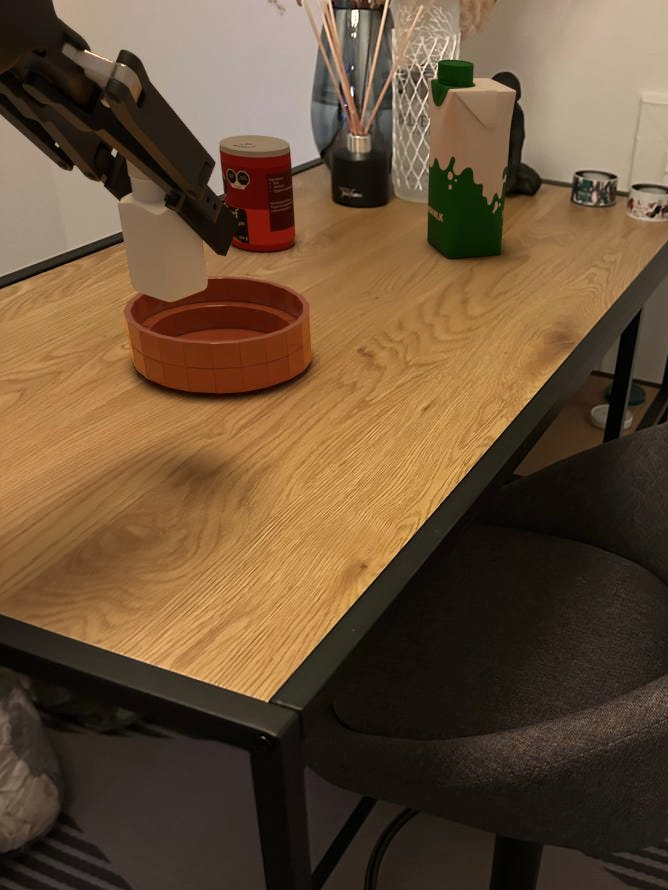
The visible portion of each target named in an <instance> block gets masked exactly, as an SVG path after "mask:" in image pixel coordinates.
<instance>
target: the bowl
mask: <svg viewBox="0 0 668 890" xmlns="http://www.w3.org/2000/svg"><path fill="white" fill-rule="evenodd" d="M207 280H208V284H207V288H206V289H205V290H203V291H201V292H198V293H195V294H193V295H190V296H187V297H185V298H182V299H180V300H177V301H174V302H167V301H163V300H161V299H158V298H155V297H152V296H149V295H146V294H143V293H140V292H137V293H136V294H135V295H134V296H133V297H131V298H130V299H128V301H127V302H126V304H125V307H124V308H123V311H122V313H123V317H124V323H125V328H126V329H125V330H126V334H127V338H128V339H127V340H128V344H129V350H130V355H131V360H132V363H133V366H134V369H135V370H136V371H137V372H138V373H139V374H141V375H142V376H143V377H144V378H146V380H149V381H151V382H154V383H155V384H158V385H161V386H163V387H165V388H169V389H174V390H179V391H184V392H188V393H189V392H191V393H204V394H205V393H206V394H231V393H245V392H251V391H256V390H261V389H266V388H269V387H273V386H276V385H279V384H281V383H284V382H287V381H290V380H292V379H293V378H295V377H296V376H298V375H300V374H301V373H302V372H304V371H306V369H307V367H308V366H309V365H310V364H311V362H312V360H313V345H312V344H313V342H312V327H311V325H312V323H311V307H310V303H309V301H308V300H307V299H306V298H305V296H304V295H302V293H299V292H298V291H296V290H294V289H293V288H292V287H290V286H286V285H283V284H280V283H277V282H275V281H271V280H265V279H259V278H254V277H248V276H232V275H215V276H211V275H209V276H207Z"/></svg>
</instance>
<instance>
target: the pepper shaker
mask: <svg viewBox="0 0 668 890" xmlns="http://www.w3.org/2000/svg"><path fill="white" fill-rule="evenodd" d="M126 162H127V165H128V166H127V168H128V175H129V177H130V179H131V185H132V191H133V192H132V193H130V194H128V195H126V196H124V197H123V198H122V199H121V200H120V201H119V200H118V202H117V209H118V214H119V220H120V226H121V233H122V238H123V244H124V249H125V255H126V261H127V266H128V274H129V280H130V285H131V286H132V288H133V290H134V291H135V292H136V293H139V292H140V293H143V294H146V295H149V296H152V297H155V298H158V299H161V300H163V301H167V302H174V301H177V300H180V299H182V298H185V297H187V296H190V295H193V294H195V293H198V292H201V291H203V290H205V289H206V288H207V284H208V280H207V277H208V273H207V272H208V271H207V263H206V256H205V255H206V254H205V247H204V241H203V240H202V239H201V238H200V236H199V235H198V234H197V233H196V232H195V231H194V230H193V229H192V228H191V227H190V226H189V225H188V224H187V223H186V222H185V221H184V220H183V219H182V218H181V217H180V216H179V215H178V214H177V213H176V212H175V211H172V210H170V209H168V208H167V207H165V206H164V205H165V201H164V198H165V195H166V192H165V191H163V190H162V189H161V188H160V187H159V186H158V185H156V184H155V183H154V182H153V181H152V180H150V179H149V178H148V177H147V176H146V175H145V174H143V173H142V172H141V171H140V170H139V169H138V168H136V167H135V166H134V165H133V164H132V163H130V162H129V161H128V160H127V159H126Z"/></svg>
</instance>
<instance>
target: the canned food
mask: <svg viewBox="0 0 668 890" xmlns="http://www.w3.org/2000/svg"><path fill="white" fill-rule="evenodd" d="M218 144H219V146H218V147H219V148H218V150H219V161H220V170H221V179H222V189H223V196H224V204H225V205H226V207H227V208H228V209H229V210H230V211H231V212H232V213H233V215H234V216H235V217H236V218H237V219H238V220H239V221H240V222H239V225H238V227H237V230H236V232H235V235H234V237H233V240H232V242H231V245H233V246H234V247H236V248H238V249H240V250H244V249H245V250H244V251H251V252H261V253H264V252H265V253H266V252H267V253H269V252H278V251H283V250H287V249H289V248H290V247H292V246H293V245H294V243H295V239H296V220H295V218H296V217H295V205H294V204H295V203H294V202H295V201H294V184H293V168H292V154H291V147H290V145H291V144H290V143H289V142H288V141H287V140H284V139H282V138H278V137H274V136H269V135H257V134H244V135H243V134H242V135H234V136H229V137H225V138H223V139H221V140H219V143H218Z"/></svg>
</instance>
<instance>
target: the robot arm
mask: <svg viewBox="0 0 668 890" xmlns="http://www.w3.org/2000/svg"><path fill="white" fill-rule="evenodd" d="M0 116H2V117H3V119H4V120H6V121H7V122H8V123H9V124H10V125H11V126H13V127H14V128H15V129H17V131H18V132H19V133H21V135H23V136H24V137H25V138H26V139H27V140H28V141H29V142H31V143H32V144H33V145H34V146H35V147H36V148H37V149H39V150H40V152H42V153H43V154H44V155H45V156H47V158H49V160H51V161H52V162H53V163H54V164H55V165H57V166H58V168H60V169H61V170H63V171H68V172H73V170H74V168H75V167H76V168H77V169H78V170H79V171H80V172H81V173H82V176H84V177H86V178H87V179H88V180H90V181H93V182H97V183H100V182H101V183H102V184H103V187H104V188H105V189H106V190H107V191H108V192H109V193H110V194H111V195H112V196H113V197H114V198H115V199H116V200H118V202H119V201H120V200H121V199H122V198H123V197H124V196H126V195H128V194H130V193H132V192H133V191H132V185H131V179H130V177H129V175H128V168H127V166H128V165H127V162H126V159H127V160H128V161H129V162H130V163H132V164H133V165H134V166H135V167H136V168H138V169H139V170H140V171H141V172H142V173H143V174H145V175H146V176H147V177H148V178H149V179H150V180H152V181H153V182H154V183H155V184H156V185H158V186H159V187H160V188H161V189H162V190H163V191H165V192H166V195H165V198H164V201H165V205H164V206H165V207H167V208H168V209H170V210H172V211H175V212H176V213H177V214H178V215H179V216H180V217H181V218H182V219H183V220H184V221H185V222H186V223H187V224H188V225H189V226H190V227H191V228H192V229H193V230H194V231H195V232H196V233H197V234H198V235H199V236H200V238H201V239H202V240H203V243H205V244H206V245H207V246H208V247H209V248H210V249H211V250H212V251H213V252H214V253H215V254H216V255H218V256H222V257H227V255H228V252H229V250H230V247H231V245H232V240H233V237H234V235H235V232H236V230H237V227H238V225H239V222H240V221H239V220H238V219H237V218H236V217H235V216H234V215H233V213H232V212H231V211H230V210H229V209H228V208H227V207H226V205H225V202H224V201H222V199H221V198H220V197H219V196H218V195H217V193H216V192H215V191H213V189H212V188H211V187H210V186H209V182H210V180H211V177H212V175H213V172H214V169H215V167H216V164H217V163H216V161H215V159H214V158H213V157H212V155H211V154H210V153H209V152H208V151H207V149H206V148H205V147H204V146H203V145H202V143H201V142H200V141H199V140H198V138H197V137H196V136H195V134H194V133H193V132H192V131H191V130H190V128H189V127H188V126H187V125H186V123H185V122H184V121H183V120H182V118H181V117H180V116H179V115H178V114H177V113H176V111H175V110H174V109H173V107H172V106H171V105H170V103H168V101H167V100H166V99H165V98H164V96H163V95H162V94H161V92H160V91H159V90H158V89H157V88H156V87H155V85H154V84H153V82H152V81H151V80H150V76H149V75H148V72H147V70H146V68H145V66H144V63H143V61H142V60H141V59H140V58H139V57H138V55H136V54H135V53H133V52H132V51H129V50H128V49H120V50H119V52H118V54H117V58H116V59H115V61H114V60H111V59H109V58H107V57H104V56H102V55H99V54H97V53H95V52H93V51H92V49H91V46H90V44H89V43H88V42H87V40H86V39H85V38H84V37H83V36H82V35H81V34H80V33H78V32H77V31H75V29H73V28H72V27H70V26H69V25H68V24H67V23H66V22H64V21H63V20H62V19H61V18H59V16H58V15H57V11H56V9H55V5H54V2H53V0H0ZM113 150H115V151H116V154H115V156H114V155H113V154H112V152H113Z"/></svg>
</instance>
